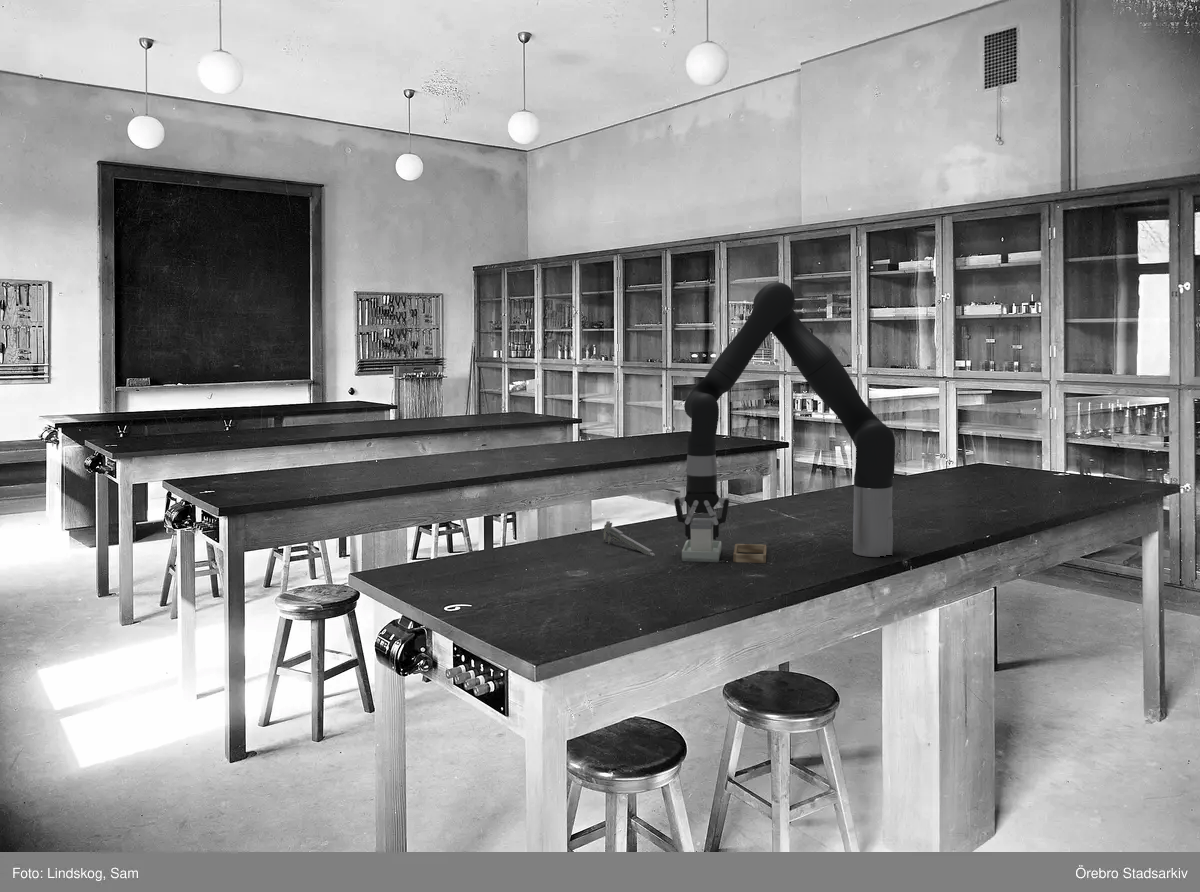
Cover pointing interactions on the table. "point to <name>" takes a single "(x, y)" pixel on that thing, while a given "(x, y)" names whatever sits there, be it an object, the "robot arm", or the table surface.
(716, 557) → the tray
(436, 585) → the table surface
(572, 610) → the table surface
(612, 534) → the caliper
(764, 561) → the holder
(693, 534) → the gray rectangular box
